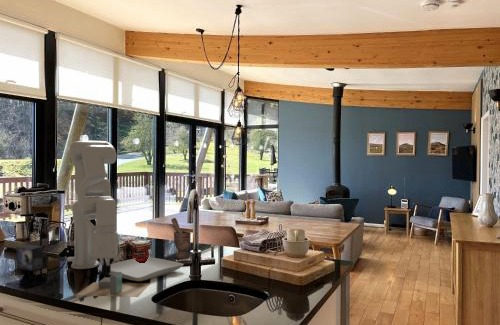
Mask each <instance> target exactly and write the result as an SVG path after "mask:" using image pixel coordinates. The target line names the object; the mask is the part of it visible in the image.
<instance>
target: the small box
mask: <svg viewBox="0 0 500 325" xmlns="http://www.w3.org/2000/svg"><path fill="white" fill-rule="evenodd" d="M43 250H44V246H42V245H36V244H24V245H19V246H16V252H15V253H16V254H15V255H16V269H17V270H22V271H28V272H34V271H38V270H41V269H44V251H43Z"/></svg>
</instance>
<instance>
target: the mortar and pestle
mask: <svg viewBox="0 0 500 325" xmlns="http://www.w3.org/2000/svg"><path fill="white" fill-rule="evenodd" d="M170 221H171V223H172V226H173V227H174V229H175V231H174V232H173V237H174V238H173V240H174V241H173V242H174V247H175V248H176V249H177V253H176V254H175V258H176V259H181V260H182V259H183V260H186V259H188V258H190V254H189V252H188V249H189V248H190V246H191V241H192V240H191V234H192V233H191V231H188V230H181V227H180V225H179V222H178V220H177V218H176V217H173V218H171V220H170Z"/></svg>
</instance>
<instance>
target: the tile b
mask: <svg viewBox="0 0 500 325" xmlns="http://www.w3.org/2000/svg"><path fill="white" fill-rule="evenodd" d="M109 278H110V295H116V294H117V293H118V292H120V291H121V290H122V283H123V278H122V272H115V273H114V274H112V275H109Z"/></svg>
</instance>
